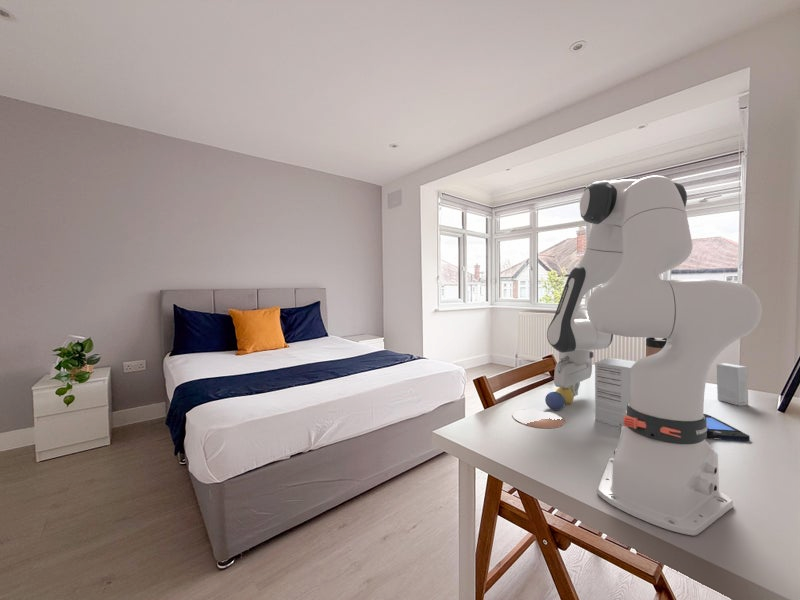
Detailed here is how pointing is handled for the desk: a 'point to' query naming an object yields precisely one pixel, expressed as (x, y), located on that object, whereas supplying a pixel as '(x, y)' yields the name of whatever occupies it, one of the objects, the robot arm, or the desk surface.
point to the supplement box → (612, 390)
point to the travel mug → (654, 345)
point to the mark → (547, 423)
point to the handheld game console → (723, 430)
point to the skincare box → (732, 383)
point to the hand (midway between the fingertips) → (573, 395)
